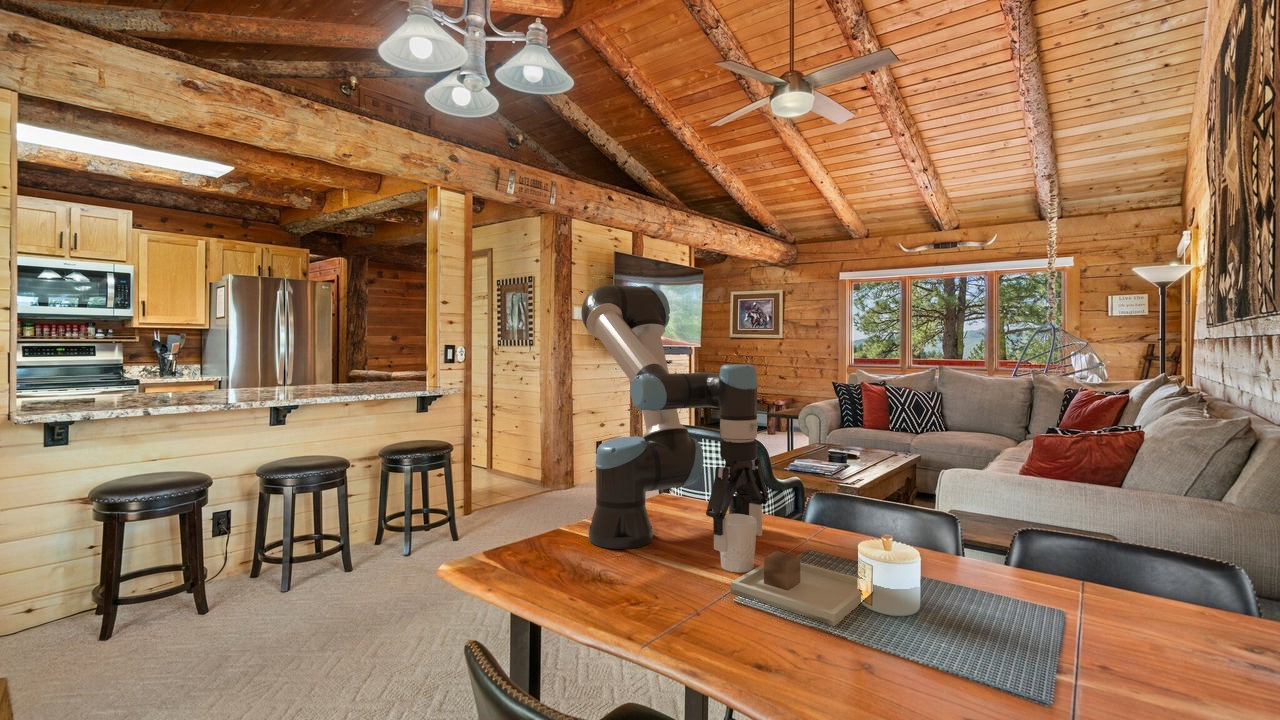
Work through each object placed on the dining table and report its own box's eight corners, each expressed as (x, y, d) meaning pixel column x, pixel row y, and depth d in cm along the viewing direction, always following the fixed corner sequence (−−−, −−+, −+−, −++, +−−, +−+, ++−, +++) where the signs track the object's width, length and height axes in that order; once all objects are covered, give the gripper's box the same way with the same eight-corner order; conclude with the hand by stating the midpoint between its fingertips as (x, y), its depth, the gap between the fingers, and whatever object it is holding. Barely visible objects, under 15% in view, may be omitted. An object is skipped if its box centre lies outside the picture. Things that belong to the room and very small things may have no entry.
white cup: (759, 574, 122) (759, 525, 122) (719, 573, 123) (720, 524, 122) (753, 560, 130) (753, 513, 130) (716, 559, 131) (716, 513, 130)
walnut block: (763, 583, 116) (764, 557, 116) (776, 575, 120) (776, 550, 120) (787, 590, 113) (788, 564, 112) (800, 582, 116) (800, 556, 116)
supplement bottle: (753, 525, 155) (753, 478, 154) (759, 534, 148) (760, 484, 147) (726, 525, 154) (726, 478, 154) (731, 534, 147) (732, 485, 147)
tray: (730, 592, 114) (730, 582, 113) (777, 565, 127) (777, 556, 127) (834, 626, 100) (834, 614, 100) (873, 592, 114) (874, 581, 114)
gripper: (720, 449, 114) (720, 562, 114) (784, 434, 133) (784, 531, 133) (687, 445, 119) (688, 553, 119) (753, 431, 137) (753, 525, 138)
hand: (738, 542), depth 126 cm, fingers open, 13 cm apart
